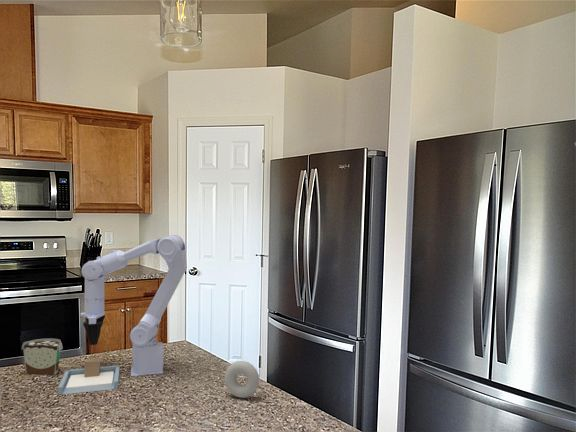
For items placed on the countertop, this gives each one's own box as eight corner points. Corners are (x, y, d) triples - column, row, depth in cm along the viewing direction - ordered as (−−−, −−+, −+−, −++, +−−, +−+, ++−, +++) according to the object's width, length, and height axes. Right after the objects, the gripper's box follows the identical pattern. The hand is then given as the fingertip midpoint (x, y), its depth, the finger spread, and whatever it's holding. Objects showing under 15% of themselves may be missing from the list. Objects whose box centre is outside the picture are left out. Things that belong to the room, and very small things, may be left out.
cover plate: (113, 373, 140) (113, 356, 140) (112, 385, 130) (112, 367, 130) (71, 377, 136) (71, 360, 136) (66, 390, 127) (66, 371, 127)
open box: (119, 373, 142) (119, 365, 142) (117, 390, 129) (117, 381, 129) (65, 378, 137) (65, 370, 137) (58, 396, 124) (58, 387, 124)
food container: (70, 370, 144) (71, 338, 144) (59, 377, 138) (59, 344, 138) (34, 368, 145) (34, 337, 145) (21, 375, 139) (21, 342, 139)
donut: (261, 397, 125) (261, 360, 125) (256, 402, 122) (257, 364, 121) (227, 392, 128) (227, 357, 127) (222, 397, 124) (222, 361, 124)
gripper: (83, 294, 149) (83, 336, 149) (77, 303, 135) (77, 349, 135) (106, 293, 151) (106, 334, 151) (103, 302, 137) (103, 347, 137)
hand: (94, 341), depth 143 cm, fingers open, 6 cm apart
